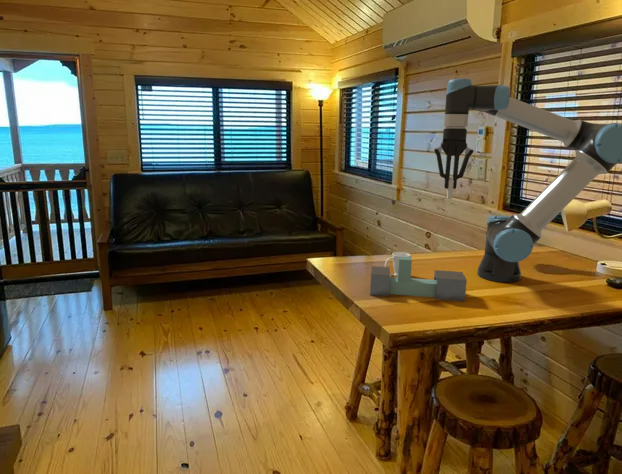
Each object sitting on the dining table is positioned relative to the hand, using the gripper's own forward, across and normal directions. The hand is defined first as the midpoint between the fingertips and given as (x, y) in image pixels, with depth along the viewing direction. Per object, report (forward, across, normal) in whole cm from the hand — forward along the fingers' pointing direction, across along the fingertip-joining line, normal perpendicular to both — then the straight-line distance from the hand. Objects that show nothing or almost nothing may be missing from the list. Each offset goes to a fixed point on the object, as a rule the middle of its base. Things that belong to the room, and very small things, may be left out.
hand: (449, 198), depth 162 cm
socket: (+30, +22, +14) cm, 40 cm away
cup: (+31, +16, -5) cm, 35 cm away
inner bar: (+30, +11, +14) cm, 35 cm away
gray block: (+30, 0, +14) cm, 33 cm away
